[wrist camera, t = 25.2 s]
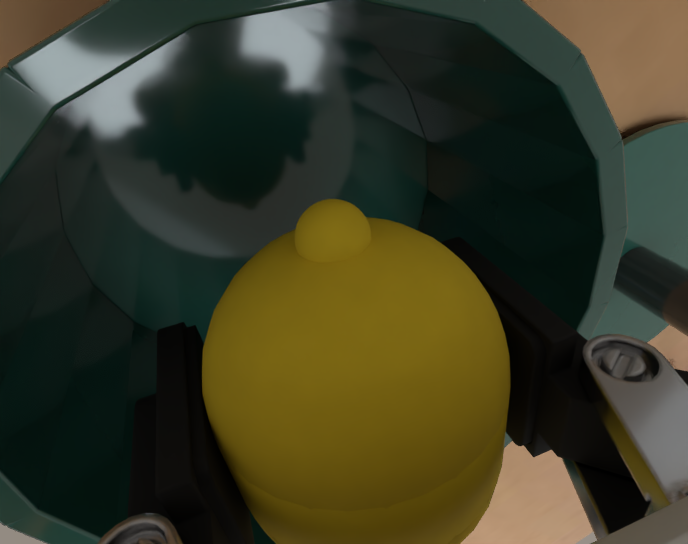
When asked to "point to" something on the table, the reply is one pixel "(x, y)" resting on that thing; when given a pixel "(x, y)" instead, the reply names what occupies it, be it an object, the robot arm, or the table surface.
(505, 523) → the table surface
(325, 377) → the lemon
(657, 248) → the lid
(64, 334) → the pot
